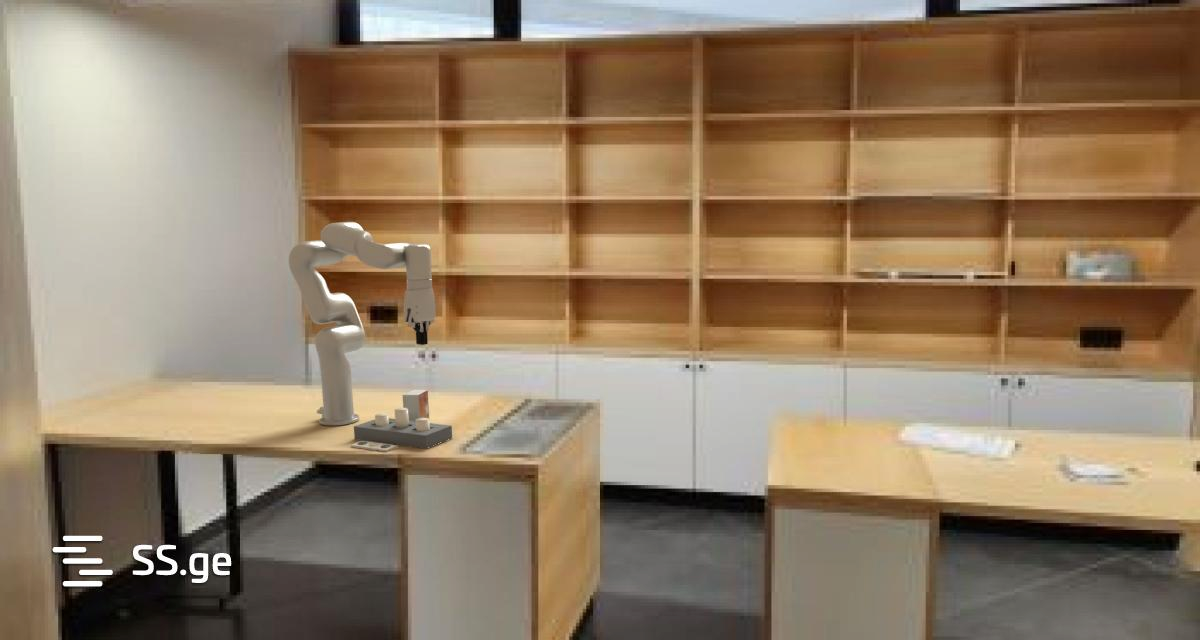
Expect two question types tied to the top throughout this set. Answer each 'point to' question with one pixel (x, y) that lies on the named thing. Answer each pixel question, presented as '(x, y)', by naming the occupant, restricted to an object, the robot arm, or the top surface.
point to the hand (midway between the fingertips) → (422, 344)
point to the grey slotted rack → (403, 434)
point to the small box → (416, 404)
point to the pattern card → (373, 446)
